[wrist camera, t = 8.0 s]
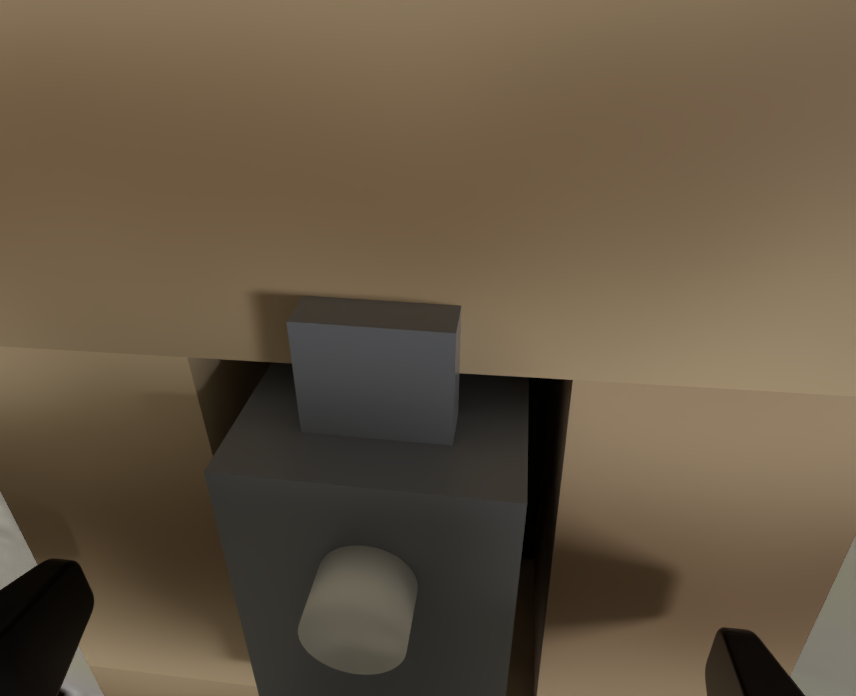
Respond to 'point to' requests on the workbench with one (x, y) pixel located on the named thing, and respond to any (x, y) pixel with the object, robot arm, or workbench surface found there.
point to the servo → (375, 507)
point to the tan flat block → (442, 296)
